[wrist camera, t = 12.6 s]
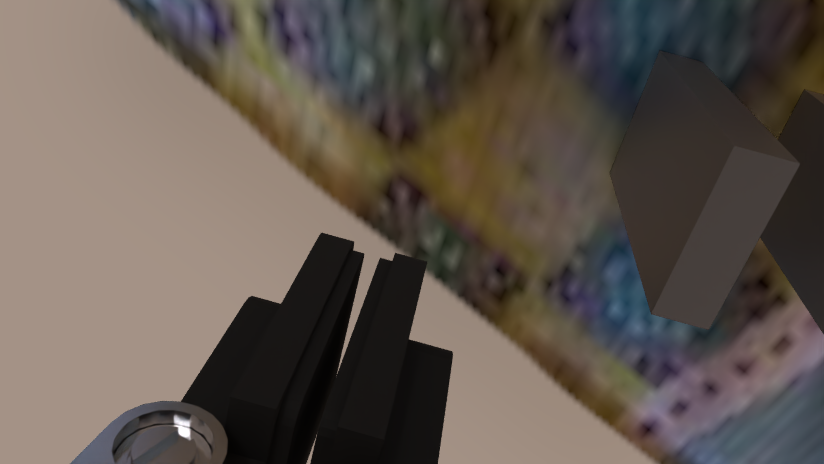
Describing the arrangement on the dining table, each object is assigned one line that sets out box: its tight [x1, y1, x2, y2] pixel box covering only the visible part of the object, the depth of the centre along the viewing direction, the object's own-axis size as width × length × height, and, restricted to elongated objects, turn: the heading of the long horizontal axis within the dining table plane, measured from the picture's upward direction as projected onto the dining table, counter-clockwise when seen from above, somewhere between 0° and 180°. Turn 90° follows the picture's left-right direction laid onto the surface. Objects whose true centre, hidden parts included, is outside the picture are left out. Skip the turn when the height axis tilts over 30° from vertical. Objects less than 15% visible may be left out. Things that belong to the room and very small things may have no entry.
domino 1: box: [610, 51, 800, 330], centre depth 22 cm, size 2×5×10 cm, turn 167°
